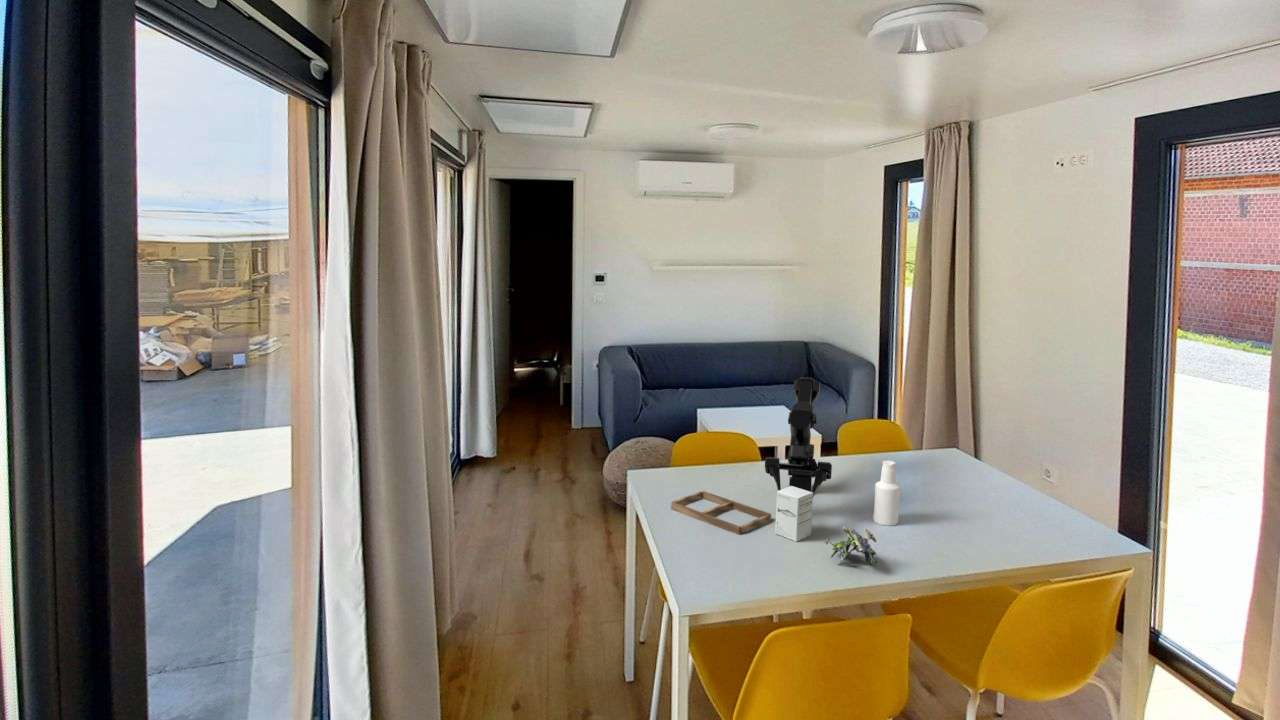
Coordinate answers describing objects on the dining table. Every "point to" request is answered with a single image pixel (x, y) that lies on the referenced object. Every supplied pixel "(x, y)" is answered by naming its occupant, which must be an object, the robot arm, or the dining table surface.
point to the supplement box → (794, 513)
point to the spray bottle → (887, 496)
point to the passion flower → (855, 546)
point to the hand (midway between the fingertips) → (795, 495)
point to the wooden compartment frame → (725, 506)
